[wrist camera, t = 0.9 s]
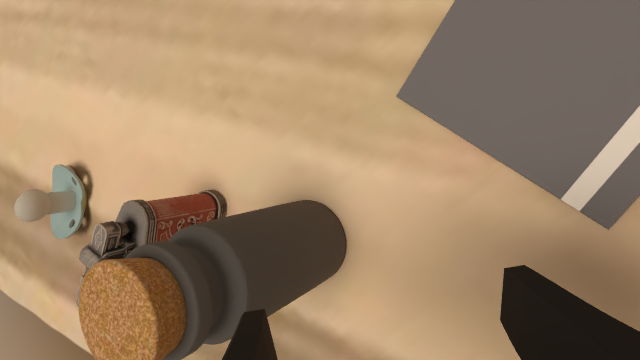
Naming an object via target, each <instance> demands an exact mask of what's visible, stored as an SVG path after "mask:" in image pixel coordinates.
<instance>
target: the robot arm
mask: <svg viewBox="0 0 640 360" xmlns="http://www.w3.org/2000/svg"><path fill="white" fill-rule="evenodd" d="M500 320H501V323H502V325H503V327H504V329H505V331H506V333H507V335H508V337H509V339H510V341H511V342H512V344H513V346H514V348H515V350H516V352H517V353H518V355H519V357H520V358H521V360H640V332H639V331H637V330H635V329H633V328H632V327H630V326H628V325H626V324H624V323H622V322H620V321H618V320H617V319H615V318H613V317H611V316H609V315H608V314H606V313H604V312H602V311H600V310H599V309H597V308H595V307H593V306H592V305H590V304H588V303H587V302H585V301H583V300H582V299H580V298H578V297H577V296H575V295H573V294H572V293H570V292H568V291H567V290H565V289H563V288H562V287H560V286H558V285H557V284H555V283H553V282H552V281H550V280H549V279H547V278H545V277H544V276H542V275H540V274H539V273H537V272H535V271H534V270H532V269H530V268H529V267H527V266H525V265H522V266H516V267H510V268H504V279H503V291H502V304H501V317H500ZM222 360H277V355H276V351H275V347H274V343H273V339H272V335H271V331H270V327H269V323H268V319H267V315H266V311H265V309H260V310H254V311H248V312H244V313H243V314H242V316H241V318H240V320H239V323H238V325H237V328H236V330H235V333H234V335H233V337H232V339H231V342H230V344H229V346H228V348H227V350H226V352H225V354H224V356H223V358H222Z"/></svg>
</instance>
